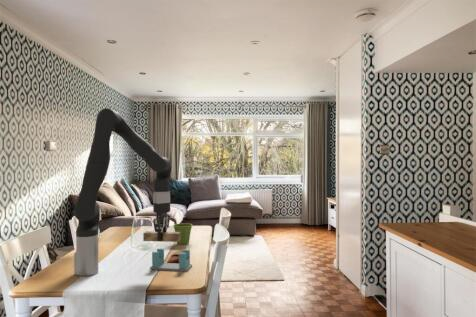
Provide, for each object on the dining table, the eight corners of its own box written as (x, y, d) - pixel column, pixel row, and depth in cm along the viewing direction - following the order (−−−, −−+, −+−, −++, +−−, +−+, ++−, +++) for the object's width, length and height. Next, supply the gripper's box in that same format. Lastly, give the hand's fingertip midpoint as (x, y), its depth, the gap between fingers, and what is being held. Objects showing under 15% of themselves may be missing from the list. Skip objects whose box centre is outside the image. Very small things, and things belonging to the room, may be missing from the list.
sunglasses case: (171, 254, 195) (177, 243, 195) (182, 260, 195) (189, 250, 195) (165, 264, 177) (172, 252, 177) (178, 271, 177) (185, 259, 177)
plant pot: (194, 241, 225) (194, 223, 225) (190, 245, 213) (190, 226, 213) (176, 240, 226) (175, 222, 226) (170, 245, 215) (170, 226, 215)
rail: (143, 241, 162) (143, 233, 162) (146, 239, 165) (146, 231, 165) (178, 241, 160) (178, 233, 160) (180, 239, 164) (180, 232, 164)
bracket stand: (149, 269, 168) (149, 252, 168) (156, 264, 176) (156, 248, 176) (187, 271, 166) (186, 254, 166) (192, 266, 173) (192, 249, 173)
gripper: (160, 199, 170) (160, 236, 170) (147, 203, 156) (147, 243, 156) (175, 199, 169) (175, 236, 169) (163, 203, 155) (163, 243, 155)
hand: (162, 239), depth 163 cm, fingers closed on rail, 3 cm apart
